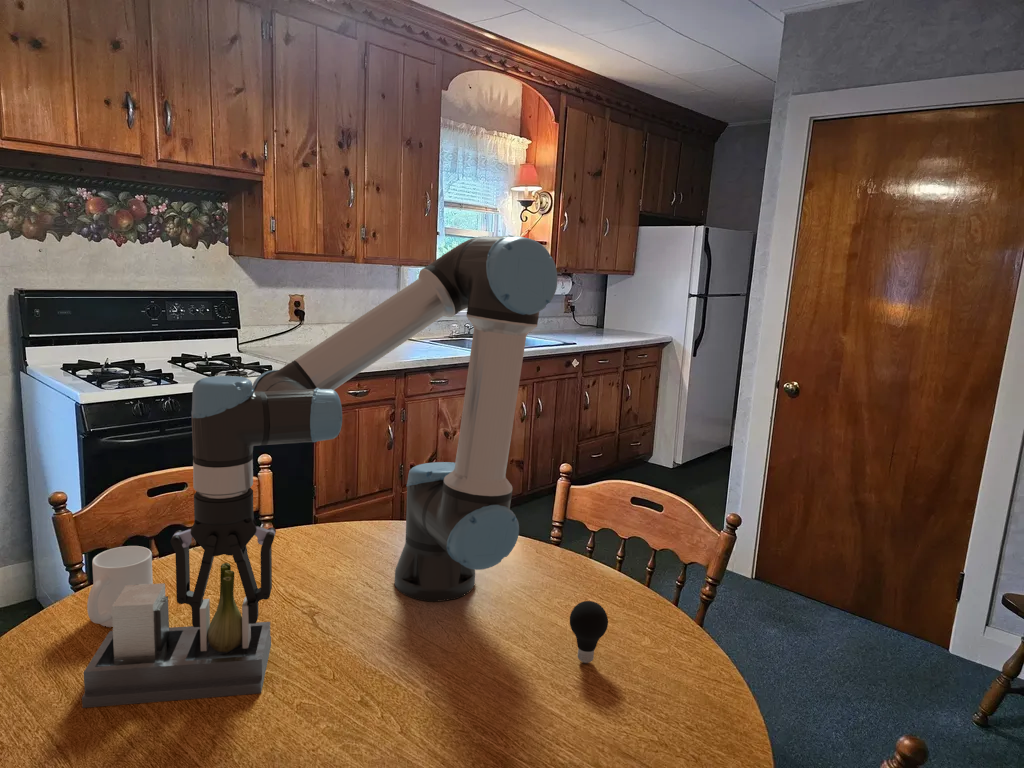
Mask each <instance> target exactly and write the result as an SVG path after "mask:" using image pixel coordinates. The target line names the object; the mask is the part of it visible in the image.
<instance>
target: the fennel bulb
mask: <svg viewBox="0 0 1024 768" xmlns="http://www.w3.org/2000/svg"><path fill="white" fill-rule="evenodd" d="M219 579H220V585H219V586H220V587H219V601H218V605H217V609H216V610H215V613H214V615H213V617H212V619H211V620H210V626H209V629H208V633H207V636H208V641H209V644H210V645H211V647H212V648H213V649H214V650H216V651H218V652H229V651H231V650H233V649H234V648H236V647H238V646H239V645H241V643H242V612H240V609H239V607H238V605H237V603H236V601H235V597H234V593H235V592H234V589H235V587H234V585H235V571H233V570H232V567H231V563H229V562H224V563H221V565H220V578H219Z"/></svg>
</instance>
